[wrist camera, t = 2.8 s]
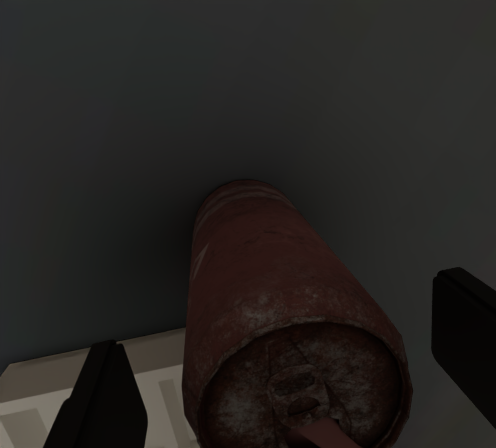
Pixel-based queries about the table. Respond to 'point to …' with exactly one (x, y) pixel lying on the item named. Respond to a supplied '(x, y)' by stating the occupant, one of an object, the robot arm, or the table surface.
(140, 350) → the divided tray
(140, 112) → the table surface
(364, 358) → the can
